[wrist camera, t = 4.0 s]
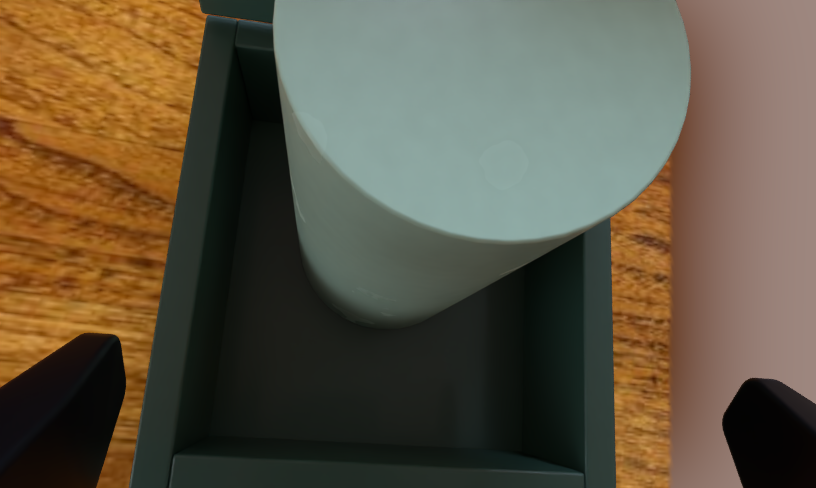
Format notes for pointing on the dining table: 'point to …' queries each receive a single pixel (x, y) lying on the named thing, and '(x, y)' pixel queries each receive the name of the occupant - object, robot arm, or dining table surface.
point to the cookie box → (353, 337)
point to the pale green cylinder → (466, 136)
